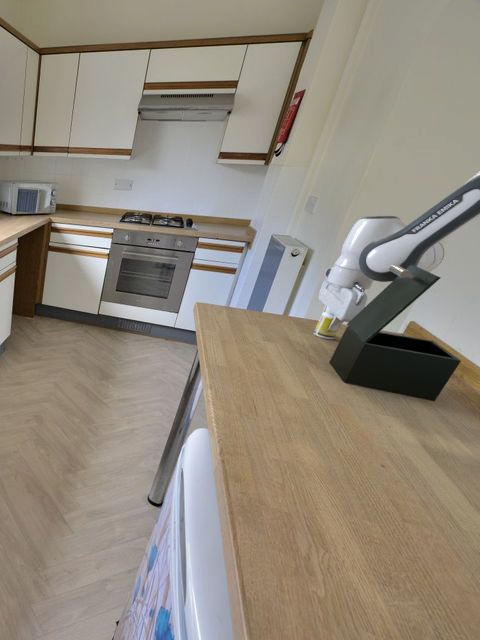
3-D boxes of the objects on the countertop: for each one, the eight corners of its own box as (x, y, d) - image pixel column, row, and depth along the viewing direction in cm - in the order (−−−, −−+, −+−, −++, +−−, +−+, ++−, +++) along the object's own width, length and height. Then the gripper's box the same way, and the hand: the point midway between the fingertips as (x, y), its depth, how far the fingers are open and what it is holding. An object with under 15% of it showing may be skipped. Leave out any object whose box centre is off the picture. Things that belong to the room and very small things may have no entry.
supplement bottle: (338, 340, 113) (352, 312, 110) (321, 339, 113) (334, 311, 110) (325, 332, 118) (338, 305, 114) (308, 332, 118) (321, 304, 114)
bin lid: (414, 265, 87) (392, 255, 88) (441, 277, 79) (417, 266, 79) (348, 325, 96) (330, 316, 97) (366, 342, 87) (346, 332, 88)
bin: (410, 378, 95) (433, 340, 91) (434, 401, 86) (461, 360, 82) (328, 362, 101) (347, 326, 96) (344, 382, 92) (364, 343, 88)
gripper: (382, 291, 98) (356, 342, 105) (351, 270, 115) (330, 316, 121) (350, 286, 101) (326, 337, 107) (324, 267, 118) (304, 312, 124)
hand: (328, 325), depth 114 cm, fingers closed on supplement bottle, 5 cm apart
